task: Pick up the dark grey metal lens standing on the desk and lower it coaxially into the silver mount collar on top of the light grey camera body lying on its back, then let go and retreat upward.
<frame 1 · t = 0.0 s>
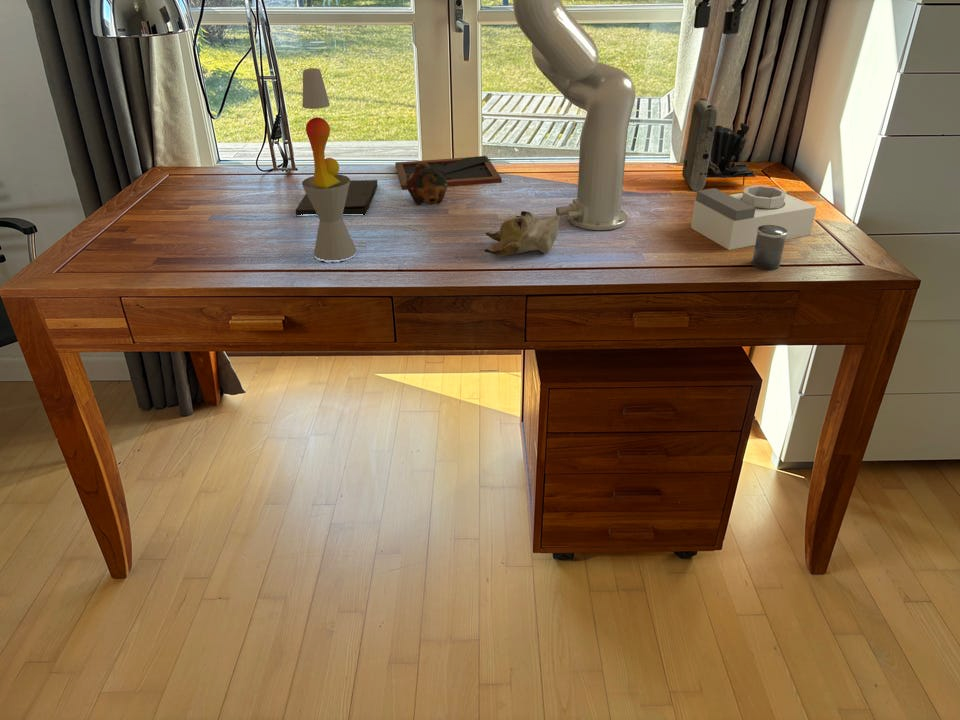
hand: (715, 30, 148), 37 cm above the table, fingers open, 9 cm apart
vintage camera: (716, 185, 180), on the table
picture frame: (339, 203, 175), on the table
picture frame 2: (446, 177, 191), on the table
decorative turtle: (427, 202, 173), on the table
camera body: (749, 231, 153), on the table
lens: (765, 264, 139), on the table
ceramic sculpture: (521, 252, 147), on the table
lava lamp: (335, 255, 147), on the table
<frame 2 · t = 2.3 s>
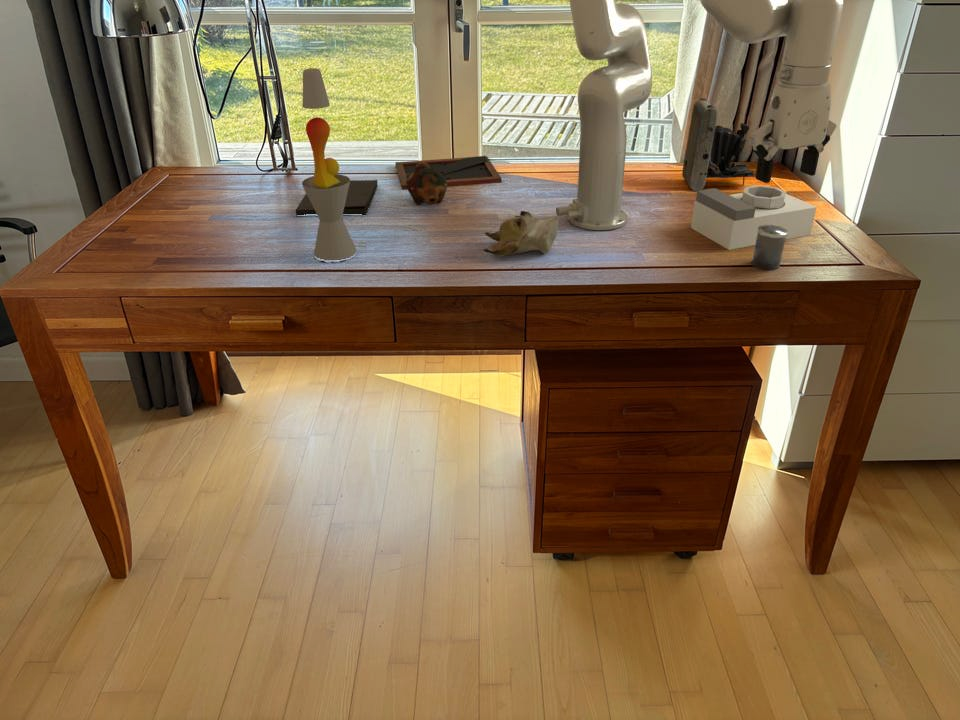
hand: (785, 177, 130), 17 cm above the table, fingers open, 9 cm apart
nothing on the table moved.
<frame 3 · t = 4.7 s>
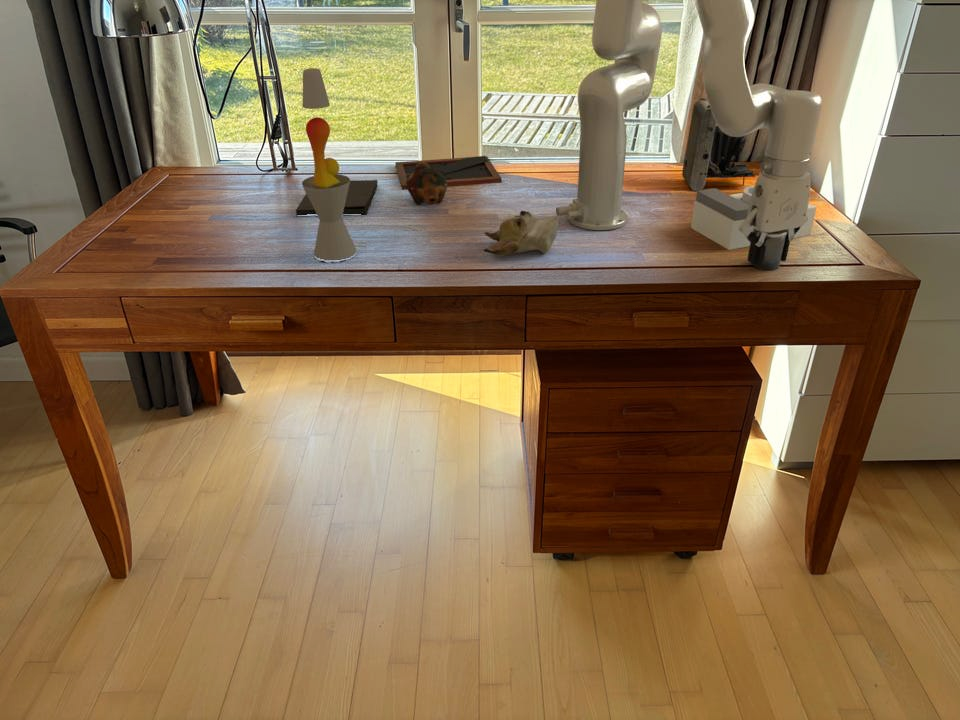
hand: (766, 260, 139), 1 cm above the table, fingers closed on lens, 5 cm apart
lens: (765, 264, 139), on the table, touching gripper
everything else where it was.
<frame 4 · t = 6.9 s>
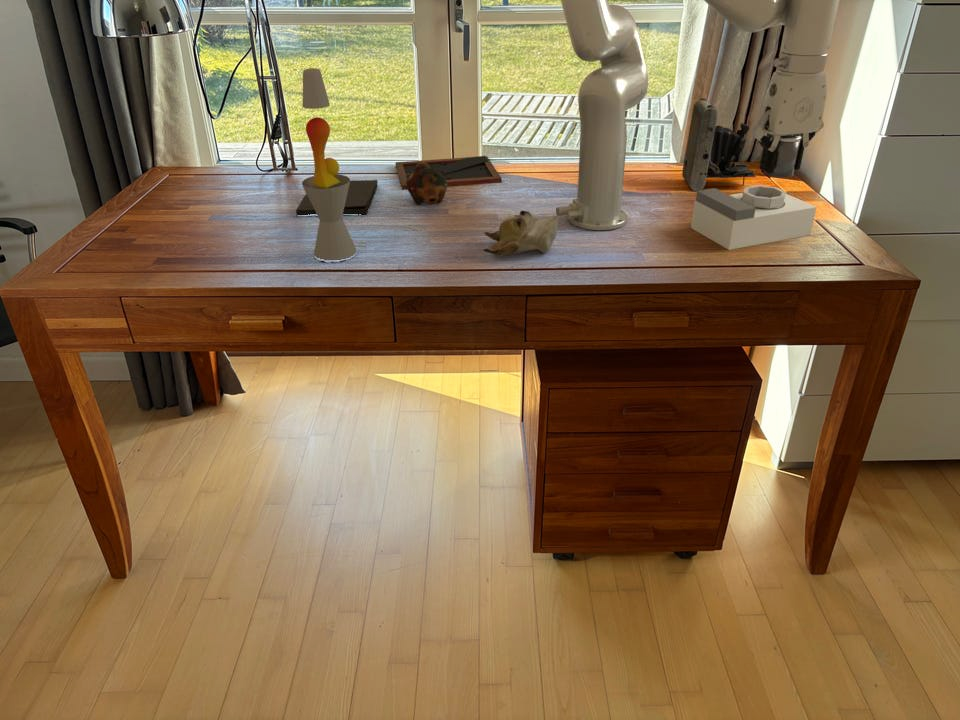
hand: (779, 168, 134), 17 cm above the table, fingers closed on lens, 5 cm apart
lens: (778, 173, 134), point 16 cm above the table, touching gripper
everything else where it was.
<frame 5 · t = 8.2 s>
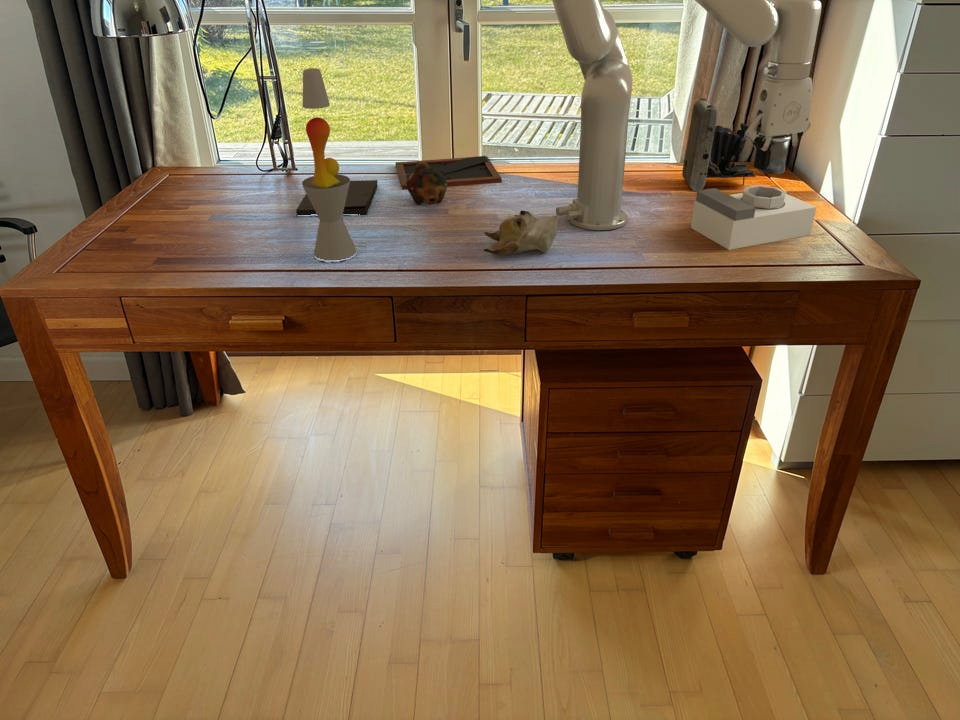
hand: (771, 166, 147), 14 cm above the table, fingers closed on lens, 5 cm apart
lens: (771, 170, 147), point 13 cm above the table, touching gripper
everything else where it was.
when the fingers open (9 cm above the table, at t = 9.3 s): lens drops 2 cm, resting on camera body.
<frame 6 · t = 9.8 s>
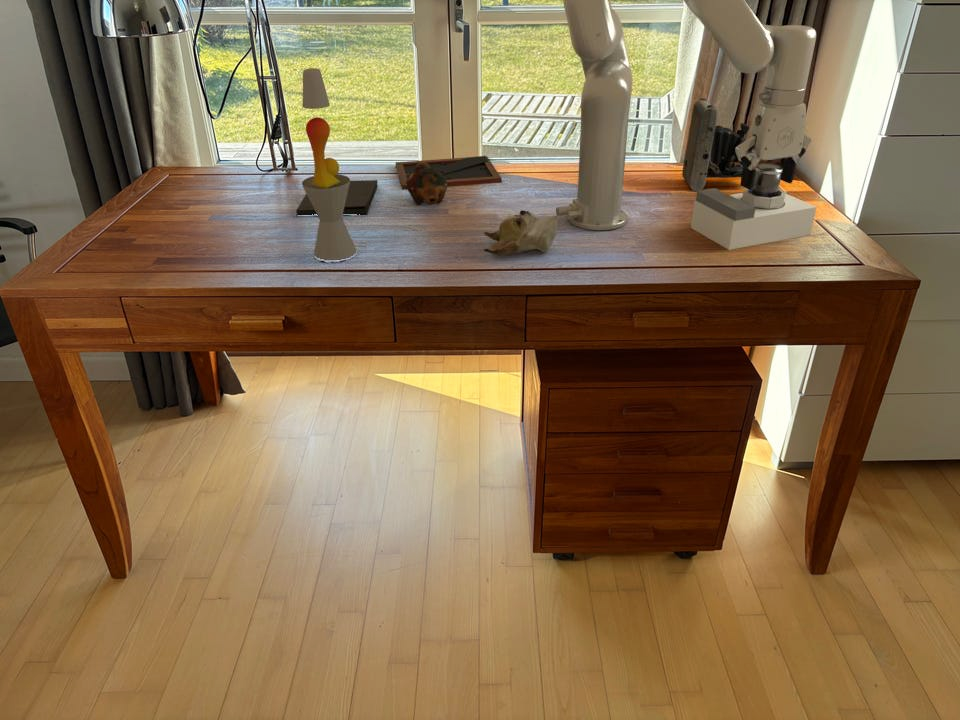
hand: (766, 184, 149), 10 cm above the table, fingers open, 9 cm apart
lens: (762, 201, 151), point 6 cm above the table, touching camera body
everything else where it was.
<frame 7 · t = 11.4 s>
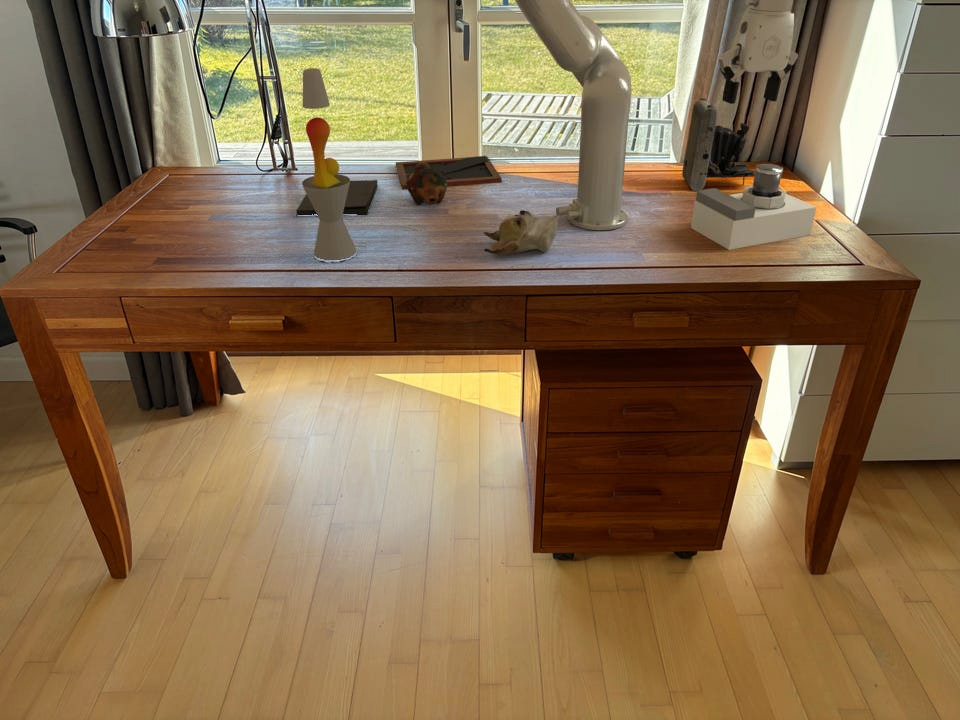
hand: (749, 101, 143), 26 cm above the table, fingers open, 9 cm apart
nothing on the table moved.
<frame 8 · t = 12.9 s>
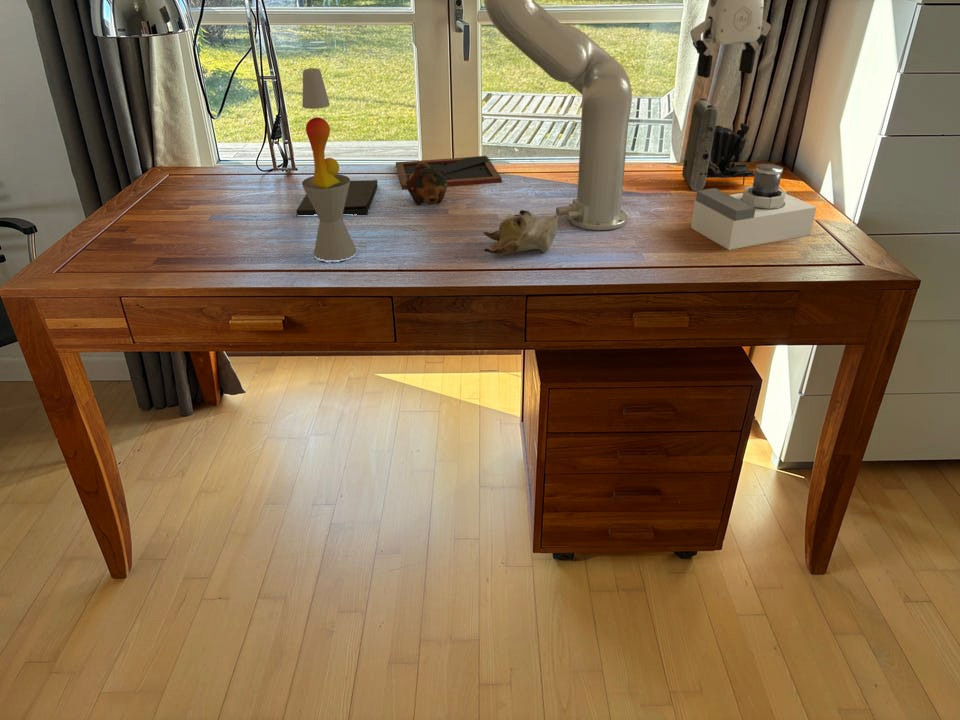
hand: (724, 74, 142), 30 cm above the table, fingers open, 9 cm apart
nothing on the table moved.
at the end: lens 0.0 cm from the target spot on the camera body, point 6.2 cm above the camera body's base; lens tilted 0°; the gripper is holding nothing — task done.
